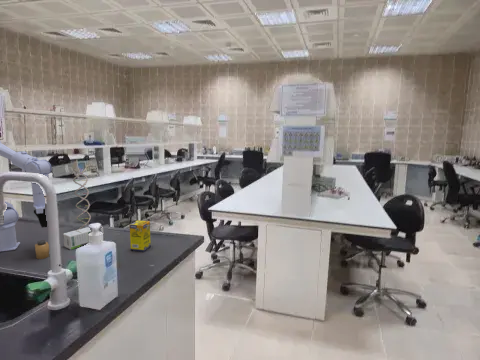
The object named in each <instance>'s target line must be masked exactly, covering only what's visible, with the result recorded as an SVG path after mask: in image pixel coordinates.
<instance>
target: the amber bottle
mask: <svg viewBox="0 0 480 360" xmlns="http://www.w3.org/2000/svg"><path fill="white" fill-rule="evenodd" d="M48 243H49V242H47V241H46V239H40V240H38V241H37V243H35V244H34V249H35V258H36V259H38V260H44V259H47V258H49V257H50V256H49V252H50V245H49V244H50V243H49V244H48Z"/></svg>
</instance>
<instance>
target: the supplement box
mask: <svg viewBox="0 0 480 360" xmlns="http://www.w3.org/2000/svg"><path fill="white" fill-rule="evenodd" d="M129 242H130V244H129V245H130V251H131V250H133V251H132V252H143V253H144V252H146V250H148V249H149V248H151V246H152V244H151V243H152V242H151V221H150V220H138V219H136V221H135V222H132V223H129Z"/></svg>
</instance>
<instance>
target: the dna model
mask: <svg viewBox="0 0 480 360" xmlns="http://www.w3.org/2000/svg"><path fill="white" fill-rule="evenodd" d="M72 170H73V171H75V172H76V173H78V174H77V175H76V176H75V177H73V179H72V181H73V183H74V184H76V185H78V186H79V188H77V189H76V190H75V191H74V195H75V196H76V197H78V198H80V201H78V202H77V203H76V204H75V207H76V208H77V209H79V210H81V211H82V212H81V213H80V214H78V215H77V216H76V220H77V221H80V222H82V223H83V225H82V226H80V227H79V228H78V229H77V230H79V229H82V228H85V226H86V225H87V226H88V225H90V223H89V222H90V221H91V219H92V216H91V214H90V213H89V211H88V210H89V209H90V206H91V204H90V201H89V200H88V199H86V198H87V197H88V196H89V195H90V191H89V189H88V188H87V187H86V185H87V183H88V181H89V178H88V177H87V175H85V174H84V173H85V172H86V170H87V167H85V168H84V170H82V171H80V170H77V169H75V168H74V167H72ZM81 175H82V176H83V177H84V178H85V179H81V180H80V179H79V180H78V179H77V178H78V177H79V176H81ZM76 179H77V180H76ZM80 182H84V183H83V184H82V183H80ZM81 188H84V190H86V192H81V193H79V192H78V191H79V190H80V189H81ZM77 192H78V193H77ZM85 194H86V195H85ZM81 195H85V196H84V197H83V196H81ZM83 201H86V203H87V204H88V205H86V207H87V208H86V209H84V208H81V207H80V205H79V204H81V202H83ZM84 213H86V214H88V216H89V217H86V218H83V217H82V218H80V217H81V216H82V215H83V214H84ZM86 219H87V222H86V221H84V220H86Z"/></svg>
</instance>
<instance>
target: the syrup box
mask: <svg viewBox="0 0 480 360" xmlns="http://www.w3.org/2000/svg"><path fill="white" fill-rule="evenodd" d="M101 227H102V228H101V231H102V232H103V234H104V227H103V226H101ZM78 229H79V228H78ZM78 229H76V230H71V231H68V232H64V233H63V236H62V237H63V245H64V248H67V249H69V250H75V249H78V248H81V247H84V246H83V245H85V244H87V243H88V234H89V233H90V232H91V230H90V228H89V226H86V227H82V228H81V229H79V230H78ZM80 246H81V247H80ZM85 246H86V245H85Z"/></svg>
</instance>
